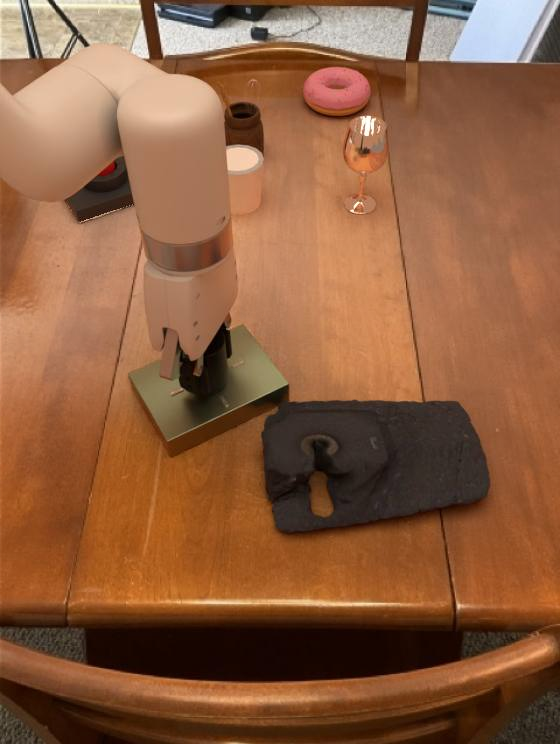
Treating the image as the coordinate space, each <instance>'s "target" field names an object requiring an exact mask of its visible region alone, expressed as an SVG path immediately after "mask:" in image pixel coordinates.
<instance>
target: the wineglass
mask: <svg viewBox="0 0 560 744" xmlns="http://www.w3.org/2000/svg"><path fill="white" fill-rule="evenodd" d="M344 137H345V138H344V139H343V147H342V155H343V160H344V162H345V164H346V166H347V167H348V168H349V170H351V171H353V172H355V173H358V174H359V175H358V181H359V192H358V193H354V194H351V195H348V196H347V197H346V198H345V199H344V201H343V206H344V208H345V210H347V211H348V212H350V213H352V214H355V215H367V214H370V213H372V212H373V211H374V210H375V209H376V207H377V203H376V200H375V199H374V198H373V197H371V195H368V194H365V193H364V185H365V182H366V180H367V174H372V173H375V172H377V171H378V170H380V169H381V168H382V167H383V166H384V164H385V163H386V160H387V157H388V153H389V134H388V126H387V123H386V122H385V121H384V120H383V119H381V118H380V117H377V116H373V115H360V116H356V117H354V118H353V119H352V120H350V122H349V124H348V126H347V129H346V133H345V135H344Z"/></svg>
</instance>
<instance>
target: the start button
mask: <svg viewBox="0 0 560 744" xmlns="http://www.w3.org/2000/svg"><path fill="white" fill-rule="evenodd" d="M114 171H115V163H114V161H113V162H112V163H111V164H109V165H108V166H107V167H106V168H105V169H104V170H102V171H101V172H100V173H99V174H98V175H97V176H105V175H108V174H111V173H113V172H114Z"/></svg>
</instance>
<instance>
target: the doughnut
mask: <svg viewBox="0 0 560 744" xmlns="http://www.w3.org/2000/svg"><path fill="white" fill-rule="evenodd" d="M302 87H303V88H301V89H302V93H303V97H304V100H305V102H306V104H307V105H308V106H309V107H310V108H311V109H312V110H313V111H315V112H317V113H319V114H322V115H326V116H332V117H343V116H349V115H353V114H356V113H357V112H359V111H361V110H362V109H363V108H364V107H366V105H367V103H368V102H369V99H370V97H371V94H372V93H371V92H372V91H371V90H372V89H371V85H370V83H369V81H368V78H366V77H365V76H364V75H363V74H362V73H361V71H360V72H359V71H358V70H357V69H356V70H355V69H351V68H348V67H341V66H330V67H325V68H321V69H318V70H316V71H315V72H311V73H310V75H309V76H308V78H307V79H306V80H304V85H303V86H302Z"/></svg>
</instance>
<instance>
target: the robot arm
mask: <svg viewBox="0 0 560 744" xmlns="http://www.w3.org/2000/svg"><path fill="white" fill-rule="evenodd" d="M224 122H225V119H224V109H223V104H222V102H221V98H220V97H219V95H218V93H217V92H216V91H215V89H214V88H213V87H212V86H211V85H210V84H208V82H205V81H203V80H202V79H199V78H197V77H194V76H192V75H187V74H180V73H168V72H166V71H164V70H162V69H160V68H158V67H156V66H155V65H154V64H152V63H150V62H148V61H147V60H145V59H143V58H141V57H140V56H138V55H137V54H134V53H133V52H132V51H130V50H127V49H126V48H124V47H121V46H119V45H116V44H112V43H108V42H107V43H106V42H99V43H93V44H91V45H88V46H85V47H84V48H82V49H80V50H79V51H77V52H75V53H74V54H73V55H71V56H69V58H67V59H66V60H64V61H62V62H61V63H60V64H58V65H56V66H53V68H51V69H49V70H48V71H47V72H45V73H44V74H42V75H40V76H39V77H37V78H36V79H34V80H33V81H32V82H31V83H29V84H28V85H26V86H24V87H23V88H21V89H20V90H18V91H17V92H15V93H13V95H12V94H11V93H10V91H9V90H8V89H7V88H6V87H5V86H4V85H3V84H2V83H1V82H0V179H1V180H2V181H3V182H4V183H5V184H7V185H8V186H9V187H11V188H12V189H14V190H15V191H17V192H18V193H19V194H21V195H22V196H25V197H27V198H29V199H31V200H34V201H37V202H41V203H42V202H43V203H57V202H61V201H63V200H64V199H66V198H68V197H70V196H72V195H73V194H75V193H76V192H77V191H79V190H80V189H81V188H83V187H84V186H85V185H86V184H87V183H88V182H90V181H91V180H92V179H93V178H94V177H95V176H97V175H98V174H99V173H100V172H101V171H102V170H104V169H105V168H106V167H107V166H108V165H109V164H111V163H112V162H113V161H114V160H115V159H116V158H118V157H121V156H123V155H124V157H125V162H126V167H127V172H128V177H129V181H130V186H131V191H132V196H133V200H134V205H133V206H134V210H135V214H136V219H137V224H138V228H139V234H140V238H141V242H142V243H141V244H142V247H143V252H144V256H145V259H146V262H145V263H144V266H143V281H142V282H143V283H142V284H143V299H144V300H143V302H144V311H145V318H146V319H145V320H146V326H147V331H148V337H149V342H150V345H151V347H152V349H153V350H154V351H157V352H160V353H161V352H162V354H161V355H162V356H161V359H162V360H161V366H160V371H159V377H161V378H164V379H167V380H170V381H173V380H175V379H177V378H179V383H180V386H181V387H182V388H183V389H185V390H186V391H188V392H190V393H199V394H202V395H205V396H208V395H209V393H210V392H211V390H210V383H209V376H208V368H207V367H205V366H203V353H204V352H205V350H206V349H207V347H208V345H209V344H210V342H211V341H212V339H213V338H214V336H215V334H216V333H217V331H218V330H219V329H220V330H221V331H222V332H223V334H224V336H225V344H226V354H227V359H228V358H230V357H231V355H232V346H231V335H230V329H229V328H230V326H231V324H232V316H231V313H230V311H231V309H232V308H233V306H234V304H235V303H236V300H237V297H238V290H239V278H238V267H237V259H236V253H235V247H234V235H233V224H232V223H233V221H232V213H231V206H230V193H229V180H228V166H227V153H226V140H225V127H224ZM64 201H65V200H64ZM183 352H184V353H185V354H187V355H189V357H188V358H189V359H188V358H183Z"/></svg>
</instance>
